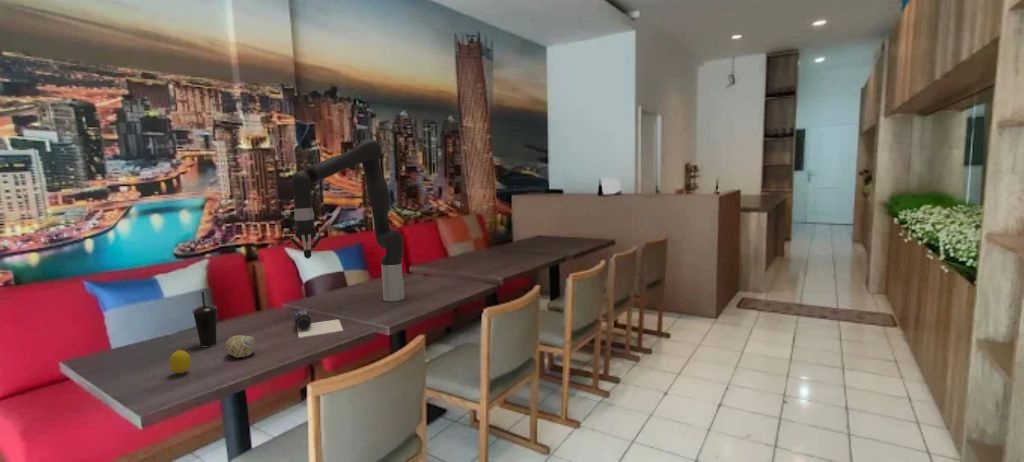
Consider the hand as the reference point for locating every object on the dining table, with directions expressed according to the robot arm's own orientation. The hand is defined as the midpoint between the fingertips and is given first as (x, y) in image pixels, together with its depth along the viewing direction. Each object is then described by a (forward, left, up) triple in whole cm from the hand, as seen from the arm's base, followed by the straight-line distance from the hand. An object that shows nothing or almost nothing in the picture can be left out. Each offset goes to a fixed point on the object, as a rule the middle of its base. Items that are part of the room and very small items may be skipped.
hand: (308, 258), depth 218 cm
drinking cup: (+37, +25, -24) cm, 51 cm away
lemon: (+42, +50, -24) cm, 70 cm away
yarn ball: (+25, +41, -24) cm, 54 cm away
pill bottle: (+5, +17, -21) cm, 27 cm away
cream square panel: (-1, +26, -24) cm, 35 cm away
